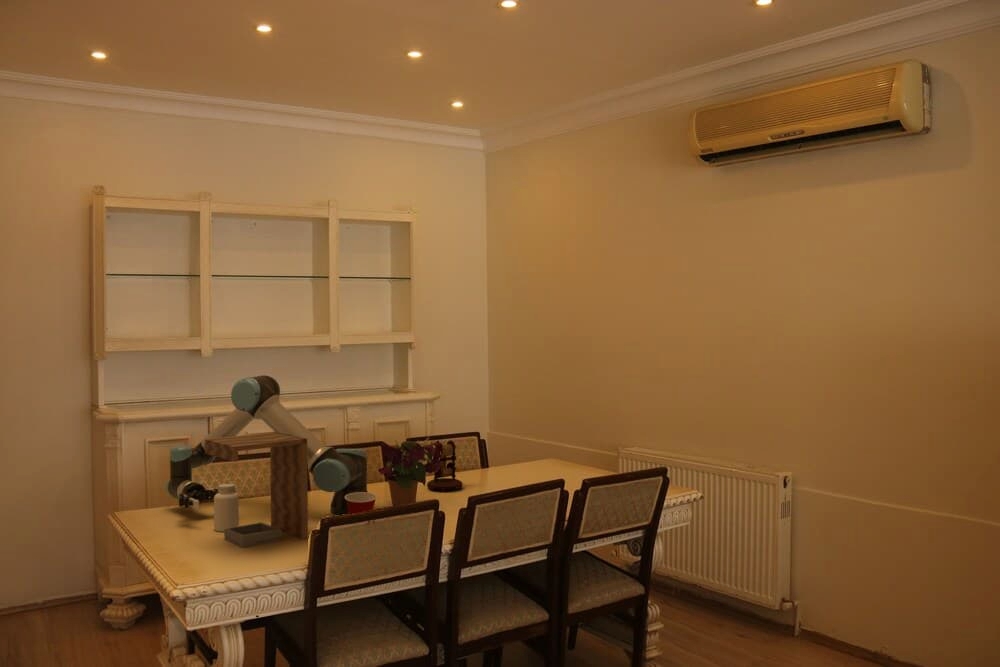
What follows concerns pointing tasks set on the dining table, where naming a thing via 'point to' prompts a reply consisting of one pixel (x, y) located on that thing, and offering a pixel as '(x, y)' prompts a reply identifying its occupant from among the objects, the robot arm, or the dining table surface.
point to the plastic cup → (360, 501)
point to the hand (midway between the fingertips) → (217, 502)
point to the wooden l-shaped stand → (276, 475)
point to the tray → (252, 534)
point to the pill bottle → (226, 508)
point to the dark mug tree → (446, 470)
